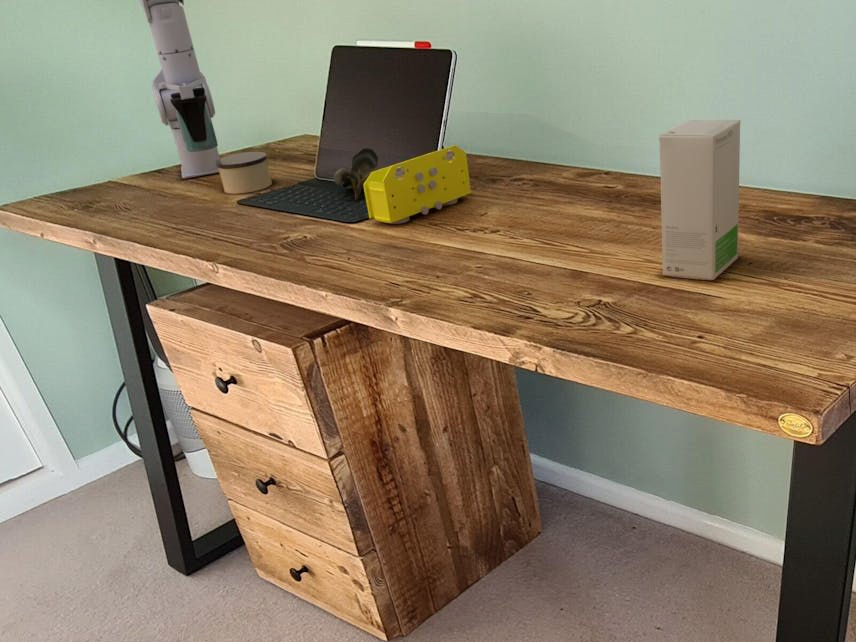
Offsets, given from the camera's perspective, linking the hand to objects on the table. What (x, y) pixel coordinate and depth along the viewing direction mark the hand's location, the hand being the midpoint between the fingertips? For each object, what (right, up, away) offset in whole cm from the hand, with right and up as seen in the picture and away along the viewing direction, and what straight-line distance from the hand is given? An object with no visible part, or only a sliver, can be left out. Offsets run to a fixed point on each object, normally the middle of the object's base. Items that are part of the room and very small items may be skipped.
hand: (199, 138), depth 153 cm
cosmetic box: (+75, -32, -49) cm, 95 cm away
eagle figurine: (+29, -11, -5) cm, 31 cm away
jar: (+6, -6, +6) cm, 11 cm away
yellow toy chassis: (+40, -17, -18) cm, 47 cm away
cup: (0, -1, +1) cm, 2 cm away
